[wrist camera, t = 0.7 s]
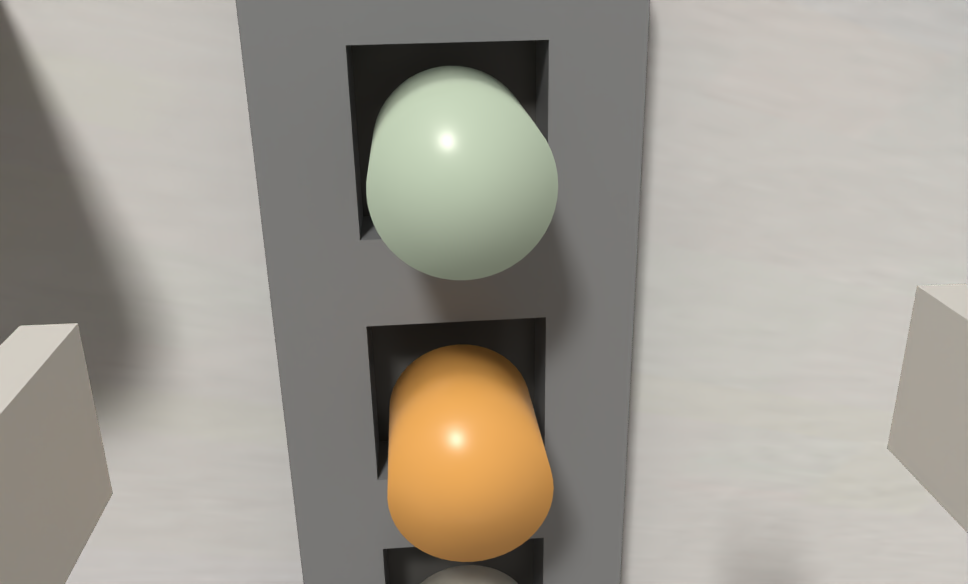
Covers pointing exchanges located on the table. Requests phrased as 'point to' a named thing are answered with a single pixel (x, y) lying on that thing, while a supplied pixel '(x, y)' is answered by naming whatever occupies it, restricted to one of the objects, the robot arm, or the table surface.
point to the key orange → (465, 456)
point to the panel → (442, 302)
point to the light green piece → (459, 175)
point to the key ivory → (469, 576)
